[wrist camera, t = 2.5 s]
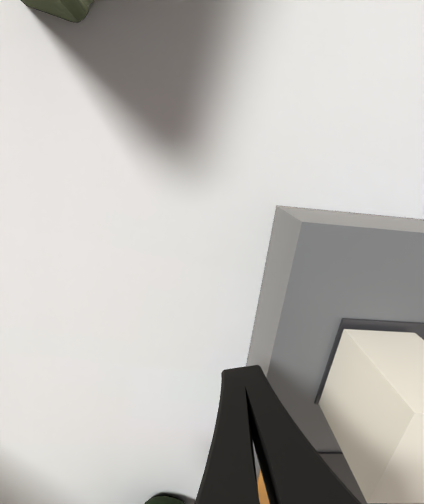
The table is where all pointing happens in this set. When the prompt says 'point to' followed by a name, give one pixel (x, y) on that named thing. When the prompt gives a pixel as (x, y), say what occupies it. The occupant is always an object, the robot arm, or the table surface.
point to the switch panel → (331, 307)
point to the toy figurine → (164, 500)
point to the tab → (379, 412)
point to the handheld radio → (62, 8)
